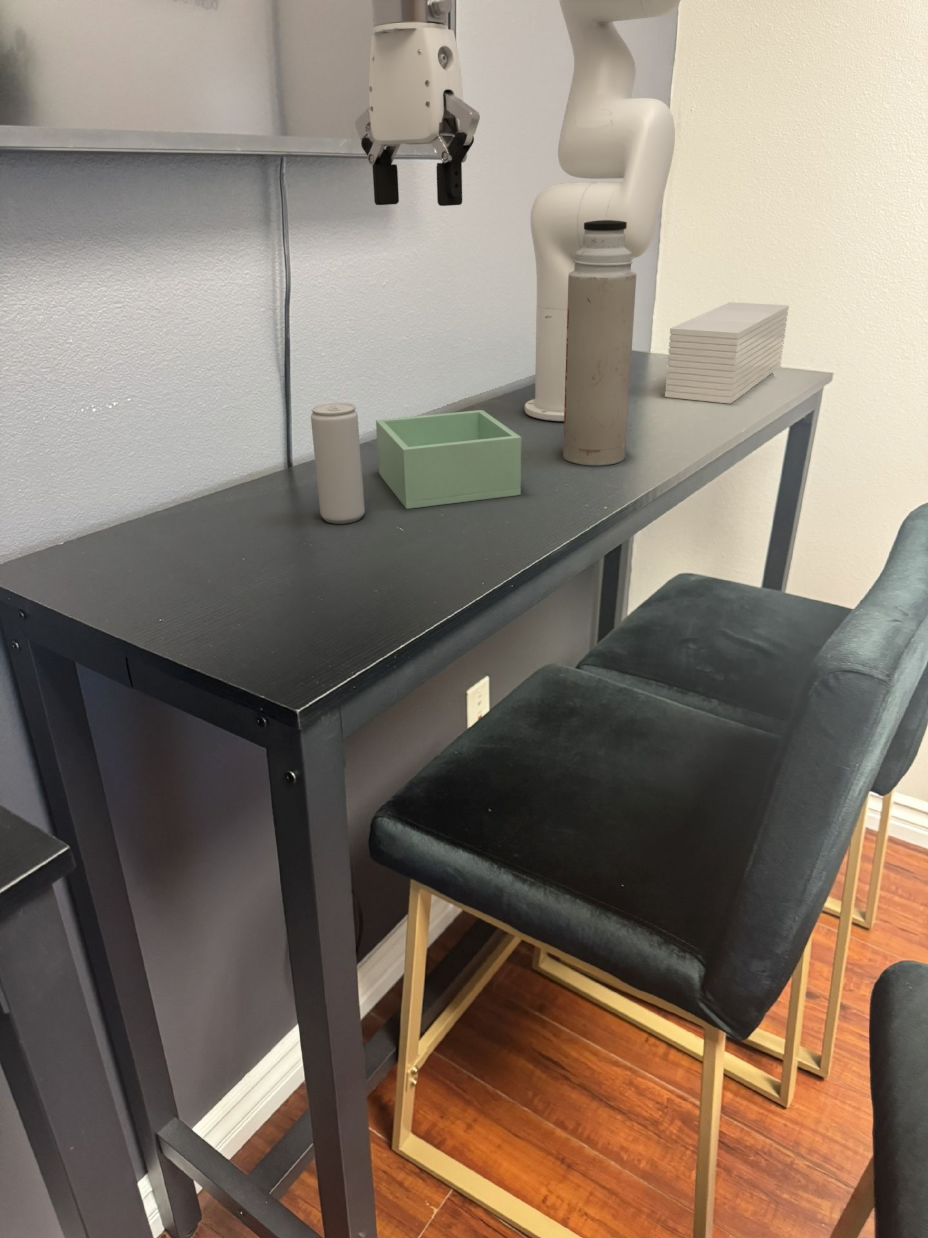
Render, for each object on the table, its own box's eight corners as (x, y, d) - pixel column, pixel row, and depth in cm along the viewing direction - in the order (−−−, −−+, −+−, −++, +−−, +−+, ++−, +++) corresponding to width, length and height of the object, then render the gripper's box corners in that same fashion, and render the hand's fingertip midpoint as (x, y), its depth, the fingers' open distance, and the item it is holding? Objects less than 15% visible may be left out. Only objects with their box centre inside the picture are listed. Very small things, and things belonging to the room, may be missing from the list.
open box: (379, 474, 111) (375, 419, 108) (483, 462, 115) (482, 409, 112) (406, 509, 100) (403, 449, 96) (520, 495, 103) (521, 436, 100)
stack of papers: (730, 403, 140) (738, 332, 135) (664, 397, 145) (670, 327, 140) (780, 366, 164) (788, 305, 159) (722, 361, 169) (729, 302, 164)
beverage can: (323, 527, 95) (312, 414, 89) (318, 512, 99) (307, 404, 94) (368, 522, 96) (360, 410, 91) (361, 507, 100) (353, 400, 95)
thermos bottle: (552, 460, 115) (558, 222, 102) (577, 445, 121) (586, 218, 108) (611, 469, 111) (625, 222, 99) (634, 452, 117) (649, 218, 105)
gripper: (500, 9, 87) (500, 204, 95) (379, 29, 97) (388, 202, 105) (447, 1, 82) (452, 207, 90) (325, 23, 93) (339, 205, 100)
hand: (417, 204), depth 97 cm, fingers open, 9 cm apart
